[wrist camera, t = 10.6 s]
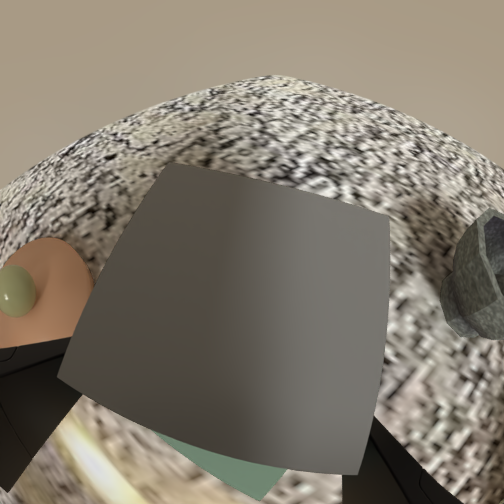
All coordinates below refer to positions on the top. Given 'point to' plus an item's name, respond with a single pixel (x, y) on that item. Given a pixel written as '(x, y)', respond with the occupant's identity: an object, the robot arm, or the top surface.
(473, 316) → the mortar and pestle
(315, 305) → the grey tall block
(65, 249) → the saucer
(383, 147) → the top surface
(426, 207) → the top surface
